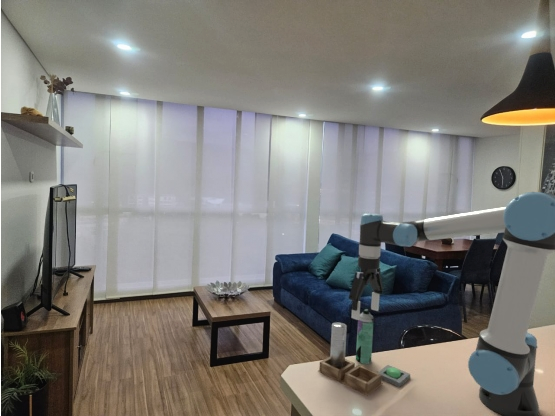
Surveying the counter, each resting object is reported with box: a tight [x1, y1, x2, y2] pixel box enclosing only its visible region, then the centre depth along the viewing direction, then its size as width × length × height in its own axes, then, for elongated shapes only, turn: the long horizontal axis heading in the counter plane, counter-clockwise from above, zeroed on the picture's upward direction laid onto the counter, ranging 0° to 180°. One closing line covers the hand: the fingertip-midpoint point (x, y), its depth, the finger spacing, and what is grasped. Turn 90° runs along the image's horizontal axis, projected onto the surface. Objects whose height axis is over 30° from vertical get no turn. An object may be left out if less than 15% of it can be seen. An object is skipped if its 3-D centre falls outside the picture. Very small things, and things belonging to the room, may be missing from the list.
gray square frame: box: [377, 364, 411, 388], centre depth 118 cm, size 8×8×2 cm
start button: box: [386, 366, 401, 379], centre depth 118 cm, size 4×4×3 cm
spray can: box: [355, 308, 375, 365], centre depth 128 cm, size 6×6×20 cm
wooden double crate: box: [317, 356, 384, 396], centre depth 117 cm, size 19×10×4 cm, turn 46°
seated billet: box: [329, 321, 348, 369], centre depth 120 cm, size 5×5×16 cm
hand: (365, 314), depth 128 cm, fingers open, 13 cm apart
